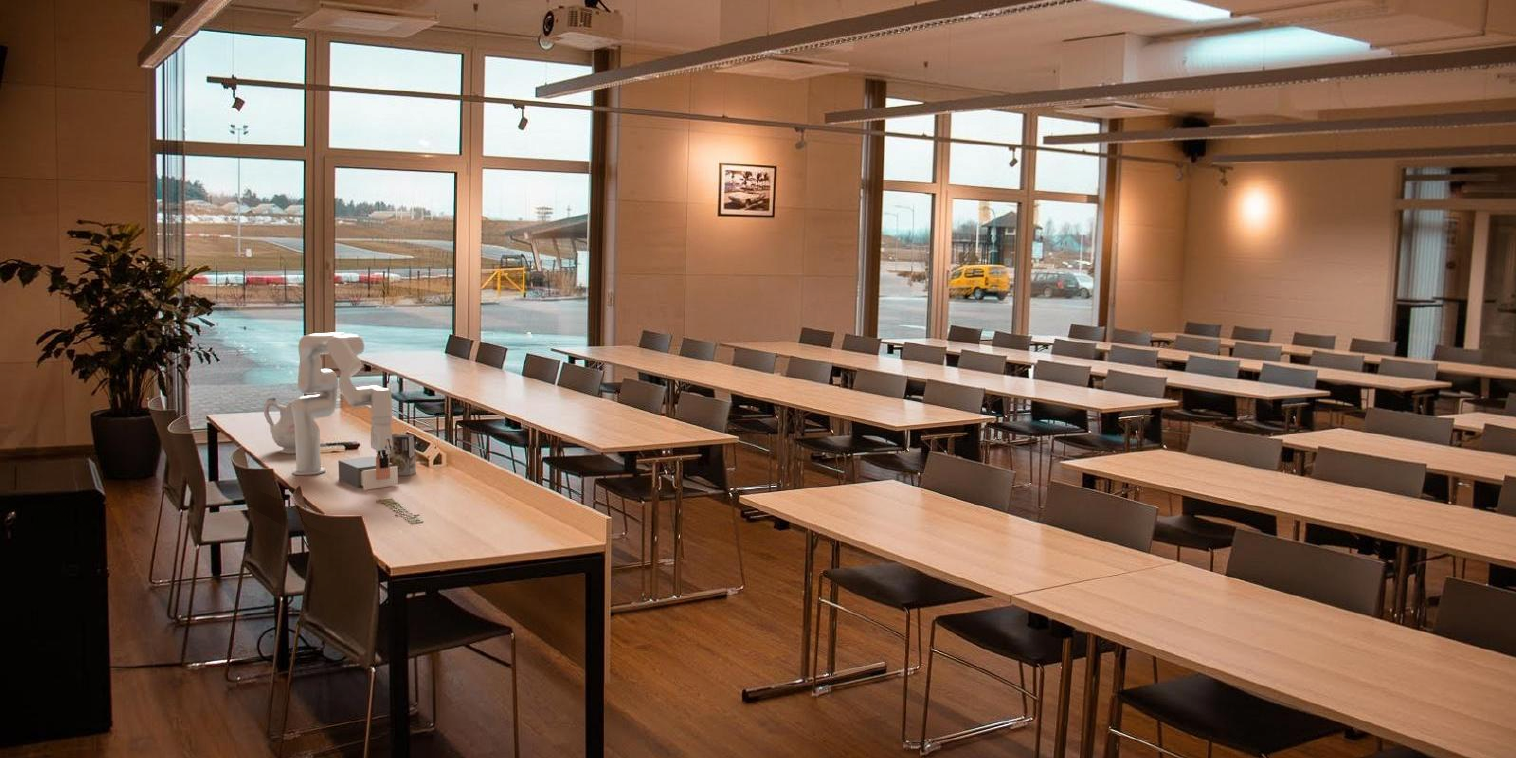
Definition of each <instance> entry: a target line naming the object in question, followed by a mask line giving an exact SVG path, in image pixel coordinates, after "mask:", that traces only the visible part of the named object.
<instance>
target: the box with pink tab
mask: <svg viewBox="0 0 1516 758" xmlns="http://www.w3.org/2000/svg"><path fill="white" fill-rule="evenodd" d="M375 457H376V468H371V469H363V470H360V485H362V486H363V488H362V489H363V490H364V491H365V490H366V491H367V490H372V489H373V490H374V489H382V488H386V487H394V486H395V487H396V486H398V485H399V477H398V476H399V475H398V469H397V466H396V467H390V456H389V457H388V468H382V469H381V468H380V458H381V456H377V455H376V456H375Z"/></svg>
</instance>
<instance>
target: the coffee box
mask: <svg viewBox="0 0 1516 758" xmlns="http://www.w3.org/2000/svg"><path fill="white" fill-rule="evenodd" d="M392 442H393V446H392V449H391V450H390V454H389V456H390V463H392V466H393V467H396V466H397V469H398V476H412V475H414V474H416V471H417V470H416V444H415V443H416V442H415V433H414V434H413V433H392Z"/></svg>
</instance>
